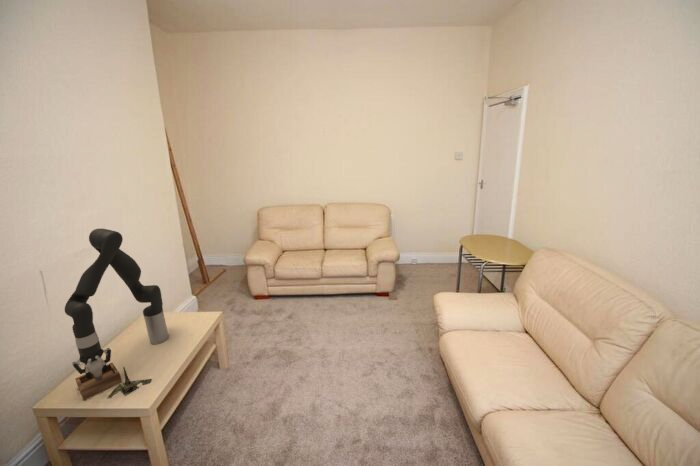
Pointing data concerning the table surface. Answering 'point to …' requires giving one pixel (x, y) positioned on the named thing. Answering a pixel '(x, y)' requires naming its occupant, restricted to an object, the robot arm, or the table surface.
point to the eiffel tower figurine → (128, 386)
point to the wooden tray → (98, 382)
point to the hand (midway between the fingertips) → (97, 374)
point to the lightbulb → (96, 369)
